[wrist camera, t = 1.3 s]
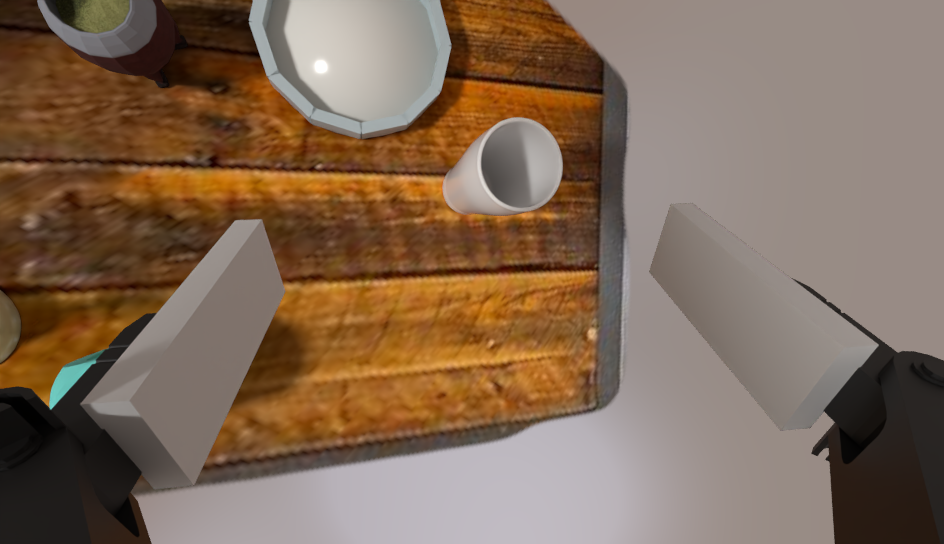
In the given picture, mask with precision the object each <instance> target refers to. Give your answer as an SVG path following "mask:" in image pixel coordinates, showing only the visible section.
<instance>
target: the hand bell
mask: <svg viewBox="0 0 944 544" xmlns="http://www.w3.org/2000/svg"><path fill="white" fill-rule="evenodd" d="M20 334H21V320H20V316H19V312H18V310H17V308H16V307H15V305H14V303H13V302H12V301H11V299H10V298H9V297H8V296H7V295H6V294H4V293H3V292H2V291H1V290H0V363H1V362H3V361H4V360H5V359H6V358H7V357H8V356H9V355H10V354H11V353H12V352H13V351H14V349H15V348H16V345H17V343H18V341H19V338H20Z"/></svg>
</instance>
